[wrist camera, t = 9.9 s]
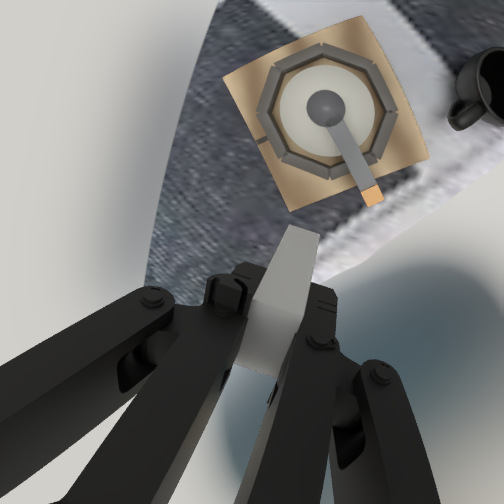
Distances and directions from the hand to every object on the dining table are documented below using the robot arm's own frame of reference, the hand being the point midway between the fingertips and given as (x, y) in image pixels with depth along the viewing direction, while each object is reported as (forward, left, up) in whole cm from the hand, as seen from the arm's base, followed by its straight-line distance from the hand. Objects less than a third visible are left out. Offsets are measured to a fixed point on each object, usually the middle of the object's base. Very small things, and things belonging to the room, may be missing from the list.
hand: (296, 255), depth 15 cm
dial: (-4, -4, -22) cm, 23 cm away
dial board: (-4, -6, -24) cm, 25 cm away
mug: (-21, -2, -25) cm, 32 cm away
